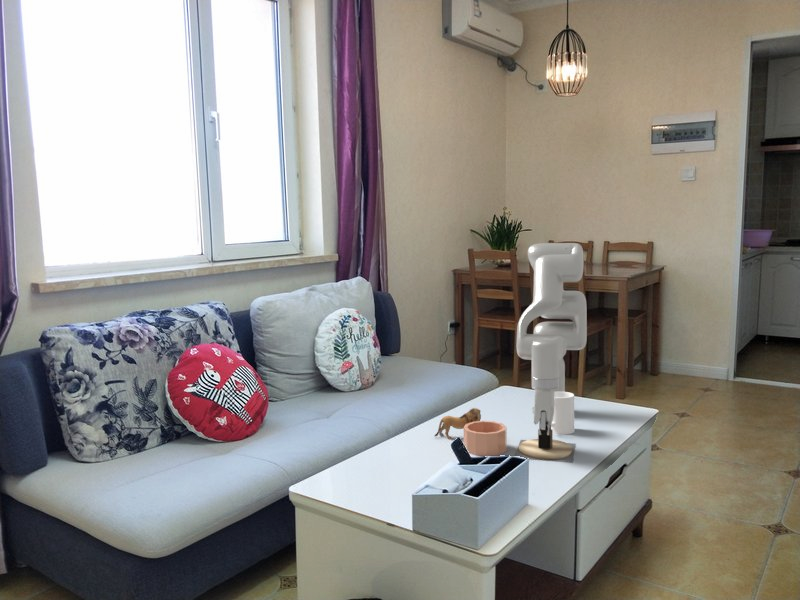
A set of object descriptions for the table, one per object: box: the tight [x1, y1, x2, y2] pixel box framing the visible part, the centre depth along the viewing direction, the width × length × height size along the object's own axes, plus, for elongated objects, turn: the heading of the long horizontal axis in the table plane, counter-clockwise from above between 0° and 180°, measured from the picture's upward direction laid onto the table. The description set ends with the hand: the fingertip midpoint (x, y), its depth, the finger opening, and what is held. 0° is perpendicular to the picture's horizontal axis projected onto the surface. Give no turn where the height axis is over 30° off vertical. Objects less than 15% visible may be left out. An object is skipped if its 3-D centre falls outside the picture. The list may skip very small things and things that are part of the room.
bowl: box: [463, 420, 508, 457], centre depth 196 cm, size 12×12×7 cm
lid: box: [518, 428, 572, 461], centre depth 193 cm, size 15×15×6 cm
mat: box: [513, 439, 576, 464], centre depth 193 cm, size 16×16×1 cm
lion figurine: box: [434, 407, 482, 440], centre depth 209 cm, size 15×5×9 cm, turn 93°
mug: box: [551, 391, 576, 435], centre depth 210 cm, size 12×8×12 cm
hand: (545, 444), depth 193 cm, fingers closed on lid, 4 cm apart
